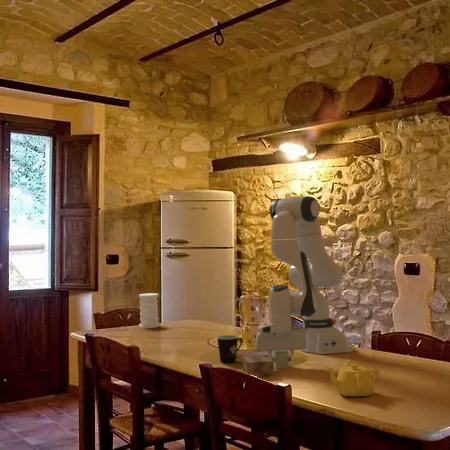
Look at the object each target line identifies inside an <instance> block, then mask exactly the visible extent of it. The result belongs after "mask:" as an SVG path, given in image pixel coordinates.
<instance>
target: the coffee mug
mask: <svg viewBox="0 0 450 450" xmlns="http://www.w3.org/2000/svg"><path fill="white" fill-rule="evenodd" d="M216 339H217V346H218V354H219V359H220V360H219V361H220V363H223V364H233V363H236V362H237V355H238V354H237V353H238V351H239V349H240V348H241V347H242V344H243V340H242V338H241V337H238V336H237V335H228V334H227V335H226V334H225V335H219V336H217V337H216ZM238 340H240V344H239V346H238Z"/></svg>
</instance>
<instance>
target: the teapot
mask: <svg viewBox="0 0 450 450" xmlns="http://www.w3.org/2000/svg"><path fill="white" fill-rule="evenodd" d="M325 368H326V369H327V370H328V371H329V374H330V381H331V383H332V384H333V386H334V387H335V388H336V390H337V391H338V393H339V395H341V394H342V395H344V396H343V397H345V396H366V397H370V396H371V395H373V392H374V390H375V387H374V383H375V382H376V381H377V379H378V377H379V375H380V370H379V369H377V368H371V369H367V368H366V367H365V366H361V365H359V364H358V363H352V362H351V360H350V359H349V358H347V359H346V366H342V367H340V370H339V372H338V374H337V377H336V375H335V371H334V369H333V368H332V367H331V366H330V367H329V366H325ZM370 373H374V375H373V377H372V376H371V374H370ZM342 395H341V396H342ZM369 395H370V396H369Z"/></svg>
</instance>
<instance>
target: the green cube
mask: <svg viewBox="0 0 450 450" xmlns="http://www.w3.org/2000/svg"><path fill="white" fill-rule="evenodd" d="M288 356H289V351H288V350H281V351H273V357H275V362H273V367H275V369H289V368H290V365H289V364H290V361H289V358H288Z"/></svg>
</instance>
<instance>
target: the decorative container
mask: <svg viewBox="0 0 450 450" xmlns="http://www.w3.org/2000/svg"><path fill="white" fill-rule="evenodd" d="M158 297H159V293H155V292H152V293H151V292H150V293H149V292H148V293H140V294H138V298H139V305H140V306H139V310H140V312H139V315H140V318H139V319H140V323H138V325H139V326H138V328H141V329H155V328H159V327H160V326H161V324H160V322H159V316H158V315H159V311H158V309H159V306H158V303H159V301H158Z"/></svg>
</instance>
